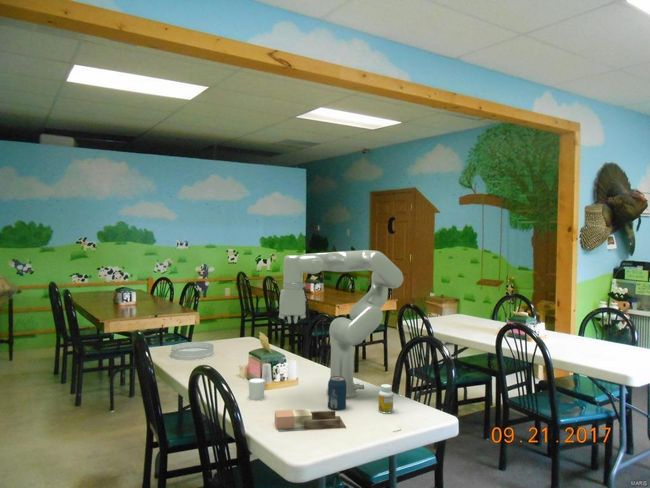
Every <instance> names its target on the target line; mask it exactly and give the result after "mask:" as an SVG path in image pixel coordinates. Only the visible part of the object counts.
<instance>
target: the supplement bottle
mask: <svg viewBox="0 0 650 488" xmlns="http://www.w3.org/2000/svg"><path fill="white" fill-rule="evenodd" d="M392 389H393V388H392V385H390V384H388V383H387V384H386V383H384V384H383V383H382V384H381V385H380V391H379V392H378V412H379V411H380V412H379V413H381V412H385V413H388V414H390V413H389V412H392V411H394V392H393V391H392ZM385 413H384V414H385ZM392 413H393V412H392Z"/></svg>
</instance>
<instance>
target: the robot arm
mask: <svg viewBox="0 0 650 488" xmlns="http://www.w3.org/2000/svg"><path fill="white" fill-rule="evenodd" d="M322 271H323V272H324V271H325V272H326V271H327V272H333V273H334V272H335V273H347V272H360V271H371V272H372V273H371V285H370V286H371V287H370V288H369V291H368V292H367V293H366V294H365V295H364V296H363V297H362V298H361V299H359V300H358V301H357V302H356V303H354V305H353V306H352V307H351V308H350V311H349V317H350V319H349V318H347V317H340V316H339V317H336V318H335V319H333V320H332V321H331V323H330V325H329V329H328V330H329V331H328V333H329V339H330V374H329V375H330V377H333V376H340V377H344V378H345V381H346V399H349V398H354V397H356V396H357V392H358V390H365V384H360V383H355V382H354V366H355V364H354V362H355V361H354V360H355V357H354V356H355V355H354V354H355V352H354V351H355V350H354V346H357V345H359V344H361V343H362V342H363V341H364V340H366V339H367V337H369V336H370V335H371V334H373V332H374V331H375V330H376V329H377V328H378V327H379V326H380V324H381V323H382V320H383V318H384V315H383V311H382V309H381V308H382V307H383V306H384V305H385V304H386V303H387V300H388V297H389V295H388V294H389V289H397V288H399V287H401V286H402V284H403V282H404V275H403V272H402V271H401V270H400V268H399V267H398V266H396V264H394V263H393V262H392V261H391V260H390V259H389V258H388V257H387V256H386V255H385V254H384V253H383V252H381V251H380V250H372V249H371V250H370V249H362V250H360V249H359V250H344V251H343V250H342V251H332V252H315V253H314V252H313V253H304V254H303V253H302V254H301V255H298V254H297V255H296V254H287V255H284V257H283V282H282V283H283V284H282V286H283V289H281V290H280V294H279V306H278V311H279V313H278V318H279V319H282V320H284V321H286V322H287V331H288V332H289V334H290V335H291V334H294V335H295V333H296V331H297V323H298V322H299V321H300V320H301V319H305V318H307V315H306V308H307V307H306V296H305V291H304V288H306V287H307V283H304V282H303V279H304V278H303V274H311V275H315V274H318V273H320V272H322ZM291 316H293V320H292V318H291ZM330 377H329V378H330ZM325 394H326V395H327V396H328V388H327V389H326V392H325Z"/></svg>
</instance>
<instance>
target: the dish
mask: <svg viewBox="0 0 650 488" xmlns="http://www.w3.org/2000/svg"><path fill="white" fill-rule="evenodd" d="M213 354H215V351H214V344H213V343H210V342H204V341H191V342H190V341H188V342H181V343H176V344H173V345H172V346H171V351H170V357H171V358H172V359H173V358H174V360H177V361H186V360H187V361H197V360H196V359H202V360H205V359H204V358H207V357H210V356H212V355H213ZM213 356H214V355H213ZM213 356H212V357H213ZM210 358H211V357H210ZM207 359H208V358H207Z"/></svg>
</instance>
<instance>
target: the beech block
mask: <svg viewBox="0 0 650 488" xmlns="http://www.w3.org/2000/svg"><path fill="white" fill-rule="evenodd" d="M291 410H292V411H293V414H294V416H295V417H294V428H305V420H312V414H311V412H312V411H311V410H310V408H308V409H307V408H306V409H291Z"/></svg>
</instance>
